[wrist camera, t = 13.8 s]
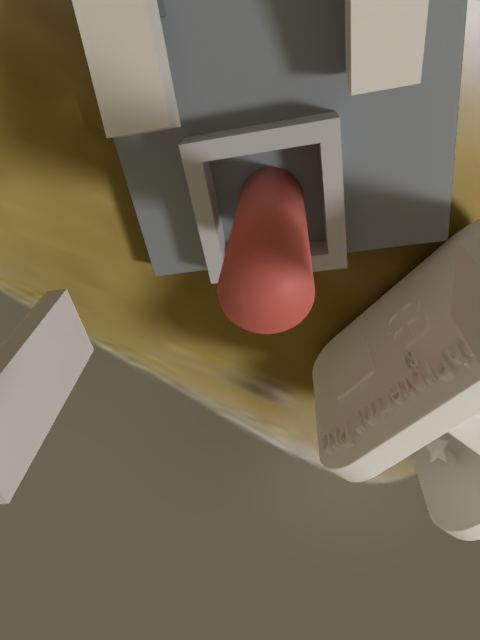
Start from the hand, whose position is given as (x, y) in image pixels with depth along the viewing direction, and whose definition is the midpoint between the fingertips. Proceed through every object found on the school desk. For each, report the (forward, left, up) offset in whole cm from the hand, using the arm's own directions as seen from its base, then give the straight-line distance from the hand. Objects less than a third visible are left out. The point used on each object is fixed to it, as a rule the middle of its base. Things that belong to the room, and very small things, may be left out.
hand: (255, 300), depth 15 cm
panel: (-6, +1, -14) cm, 15 cm away
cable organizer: (+11, +10, -14) cm, 21 cm away
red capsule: (0, 0, -12) cm, 12 cm away
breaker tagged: (-9, -5, -10) cm, 15 cm away
